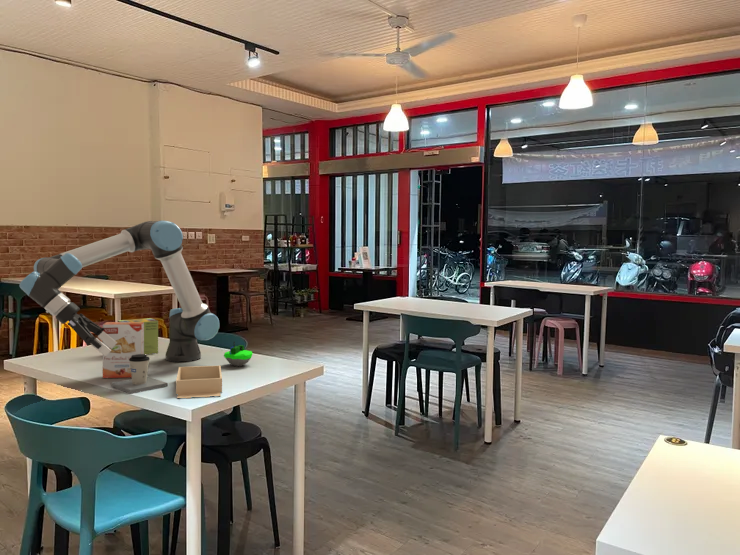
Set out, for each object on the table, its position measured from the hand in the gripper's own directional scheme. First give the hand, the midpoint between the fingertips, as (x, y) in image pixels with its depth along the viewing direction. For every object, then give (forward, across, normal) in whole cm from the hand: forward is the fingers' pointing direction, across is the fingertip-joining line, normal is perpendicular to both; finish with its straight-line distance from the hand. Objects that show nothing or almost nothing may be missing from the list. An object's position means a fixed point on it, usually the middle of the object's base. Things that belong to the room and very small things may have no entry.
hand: (111, 349), depth 197 cm
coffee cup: (+15, +1, -3) cm, 16 cm away
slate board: (+16, +1, -3) cm, 16 cm away
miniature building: (+43, -27, +22) cm, 55 cm away
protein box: (+12, -62, -9) cm, 63 cm away
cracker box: (+11, -16, -9) cm, 21 cm away
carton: (+31, +5, +11) cm, 33 cm away
